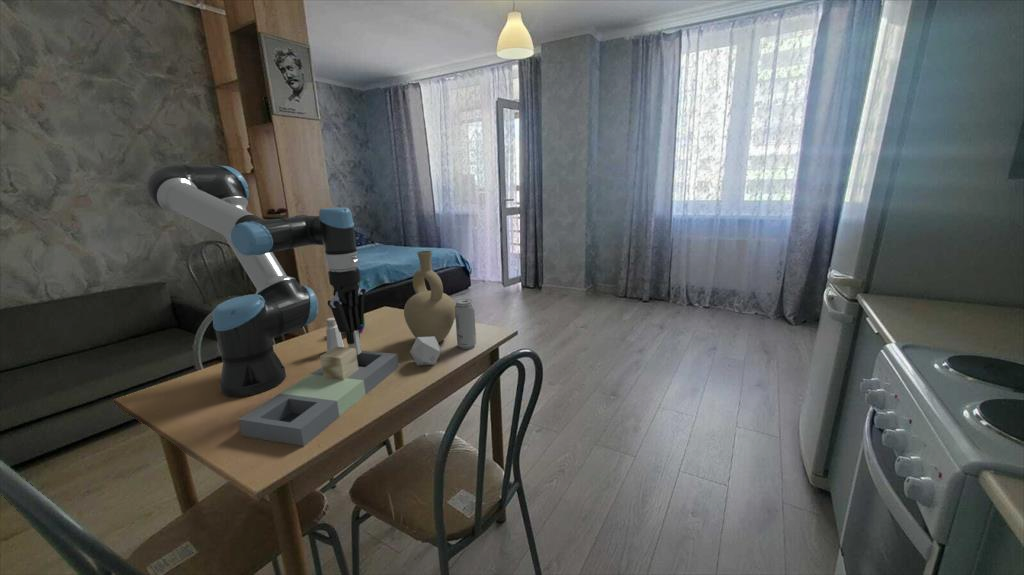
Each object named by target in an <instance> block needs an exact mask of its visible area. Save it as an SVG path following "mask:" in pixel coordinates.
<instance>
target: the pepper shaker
mask: <svg viewBox="0 0 1024 575" xmlns="http://www.w3.org/2000/svg"><path fill="white" fill-rule="evenodd" d="M325 321H326V323H327V326H326V349H327V351H326V352H328V351H330V350H331V349H333V348H335V347H345V345H344V342H343V338H342V332H339V330H338V327H337V324H336V321H335V318H334V317H328V318H326V320H325Z"/></svg>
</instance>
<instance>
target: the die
mask: <svg viewBox="0 0 1024 575" xmlns="http://www.w3.org/2000/svg"><path fill="white" fill-rule="evenodd" d="M441 352H442V348H441V346H440V344H439V343H438V342H437V340H436V338H435V336H433V337H417V338H416V337H415V341H414V343H413V345H412V347H411V349H410V350H409V353H410V354H411V357H412V358H413V361H414V362H415V363H416V366H436V364H437V361H438V360H439V357H440V355H441Z"/></svg>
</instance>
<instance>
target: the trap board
mask: <svg viewBox="0 0 1024 575" xmlns="http://www.w3.org/2000/svg"><path fill="white" fill-rule="evenodd" d="M357 362H358V369H359V370H357V371H356V372H354V373H353V374H352V375H350V376H349V377H348V378H346V379H345V380H338V379H330V378H324V376H323V370H322V366H321V367H319V368H318V369H316V370H314V371H313V372H311V373H310V374H308V375H307V376H305V377H304V378H302V379H300V380H298V381H297V382H295V383H294V384H293V385H290V386H289V387H288V388H285V389H284V390H283V391H281V392H279V393H278V394H277V395H275V396H273V397H272V398H270V399H269V400H267V401H265V402H263V403H262V404H261V405H259V406H257V407H256V408H254V409H252V410H251V411H249V412H247V413H246V414H245V415H243V416H241V417H240V418H239V419H238V423H239V429H240V432H241V436H242V437H247V438H252V439H260V440H264V441H265V440H266V441H269V442H270V441H271V442H275V443H276V442H277V443H283V444H287V445H295V446H300V447H305V446H306V445H307V444H309V443H310V442H311V441H312V440H314V439H315V438H316V437H317V436H318V435H319V434H321V433H322V432H323V431H324V430H325V429H326V428H328V427H329V426H330V425H331V424H333V423H334V422H335V421H336V420H337V419H339V417H341V416H342V415H343V414H344V413H346V412H347V411H348V410H349V409H351V408H352V406H354V405H356V403H357V402H358V401H360V400H361V399H362V398H363V397H364V396H366V395H367V394H368V393H369V392H371V391H372V390H373V389H374V388H375V387H377V386H378V385H379V384H380V383H382V381H384V380H385V379H386V378H387V377H388V376H390V375H391V374H392V373H394V371H396V370H397V369H398V368H400V367H399V366H400V365H399V358H398V353H390V352H382V351H381V352H380V351H369V350H361V353H360V354H358V355H357Z"/></svg>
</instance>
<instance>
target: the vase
mask: <svg viewBox="0 0 1024 575" xmlns="http://www.w3.org/2000/svg"><path fill="white" fill-rule="evenodd" d="M416 254H417V256H418V261H419V266H420V269H418V270H416V271H415V272H414V273H413V276H412V287H413V290H414V293H415V294H413V295H412V296H410V297H409V298H408V299H407V301H406V303H405V305H404V307H403V316H404V317H403V318H404V320H405V323H406V325H407V327H408V328H409V330H410V332H411V334H412V335H413V336H414V338H415V339H416V338H417V337H433V336H435V338H436V340H437V342H438V344H439V343H441V342H442V341H444V340H445V339H446V338H447V337H448V335H449V333H450V332H451V330H452V327H453V325H454V322H455V321H456V318H455V305H456V302H454V300H453V299H452V297H451V296H450V295H448V294H446V293H444V287H443V282H442V280H441V277H440V276H439V274H437V273H436V272H435V271H434V270H432V269H433V267H432V255H433V251H432V250H422V251H417V252H416ZM425 279H426V281H427V282H428V283H429V287H430V290H428V289H427V285H426V283H425Z"/></svg>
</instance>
